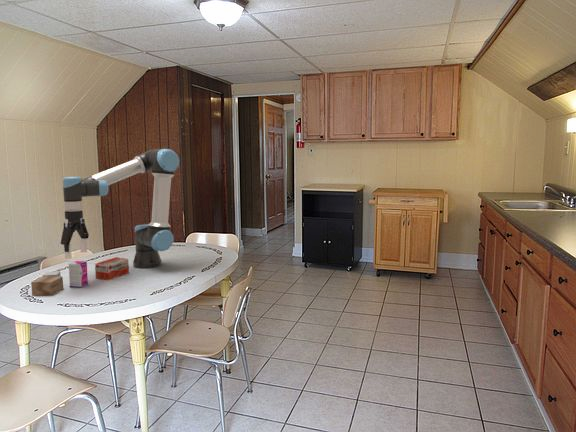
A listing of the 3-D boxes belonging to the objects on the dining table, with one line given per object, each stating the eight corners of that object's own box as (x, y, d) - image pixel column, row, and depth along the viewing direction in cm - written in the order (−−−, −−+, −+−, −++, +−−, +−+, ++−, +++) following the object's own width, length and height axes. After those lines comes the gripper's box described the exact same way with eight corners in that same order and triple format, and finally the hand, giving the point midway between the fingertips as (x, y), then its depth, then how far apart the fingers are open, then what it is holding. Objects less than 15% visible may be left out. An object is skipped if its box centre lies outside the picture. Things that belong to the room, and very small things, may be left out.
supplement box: (80, 288, 202) (78, 264, 200) (69, 287, 203) (67, 263, 202) (88, 284, 208) (87, 261, 206) (77, 283, 209) (76, 260, 207)
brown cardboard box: (63, 289, 200) (62, 276, 199) (52, 295, 191) (51, 282, 190) (44, 289, 201) (43, 276, 200) (32, 295, 192) (31, 282, 191)
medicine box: (108, 280, 214) (107, 265, 213) (95, 279, 217) (94, 263, 216) (129, 273, 228) (128, 258, 227) (117, 271, 231) (116, 256, 230)
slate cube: (61, 283, 210) (60, 271, 209) (57, 287, 204) (56, 274, 203) (47, 284, 208) (46, 272, 207) (43, 288, 202) (42, 275, 202)
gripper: (79, 207, 213) (82, 249, 216) (49, 213, 188) (53, 261, 191) (94, 207, 213) (97, 249, 215) (66, 213, 188) (69, 261, 191)
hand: (76, 255), depth 203 cm, fingers open, 13 cm apart
